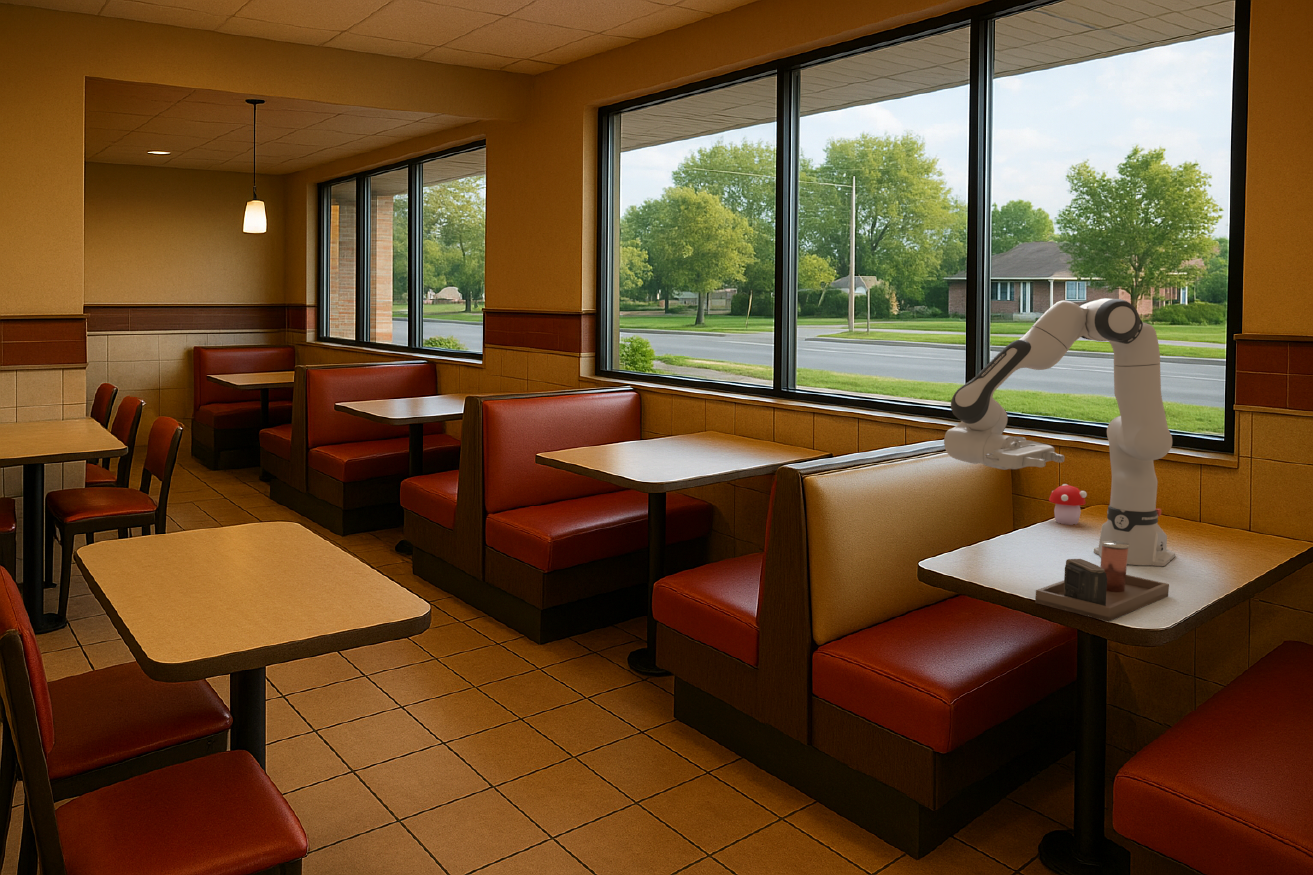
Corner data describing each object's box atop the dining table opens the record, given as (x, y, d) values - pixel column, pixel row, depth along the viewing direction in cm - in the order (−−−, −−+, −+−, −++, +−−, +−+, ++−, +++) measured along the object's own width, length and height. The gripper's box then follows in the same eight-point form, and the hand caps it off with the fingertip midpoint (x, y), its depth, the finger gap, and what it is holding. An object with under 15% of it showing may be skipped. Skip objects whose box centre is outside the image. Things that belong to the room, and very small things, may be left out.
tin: (1105, 583, 235) (1108, 539, 234) (1129, 589, 231) (1133, 544, 230) (1093, 588, 232) (1097, 542, 230) (1118, 593, 227) (1122, 547, 226)
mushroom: (1085, 527, 300) (1088, 489, 298) (1047, 524, 304) (1049, 486, 302) (1083, 520, 310) (1086, 483, 308) (1046, 517, 314) (1049, 480, 312)
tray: (1097, 580, 242) (1098, 568, 242) (1168, 596, 229) (1169, 583, 229) (1035, 602, 223) (1035, 590, 223) (1108, 621, 210) (1109, 608, 210)
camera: (1109, 613, 216) (1111, 569, 214) (1085, 614, 215) (1086, 570, 214) (1082, 598, 227) (1083, 556, 226) (1058, 599, 226) (1060, 557, 225)
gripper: (982, 444, 244) (1033, 453, 233) (1023, 436, 257) (1074, 444, 246) (979, 469, 245) (1031, 479, 234) (1021, 459, 258) (1071, 468, 248)
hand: (1053, 461), depth 241 cm, fingers open, 8 cm apart
